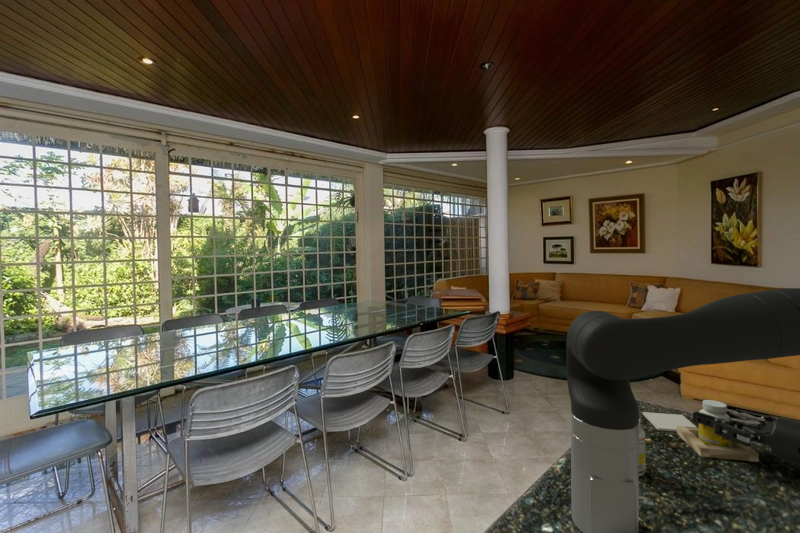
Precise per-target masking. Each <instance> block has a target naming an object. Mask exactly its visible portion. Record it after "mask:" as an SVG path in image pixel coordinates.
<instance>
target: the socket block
mask: <svg viewBox="0 0 800 533" xmlns="http://www.w3.org/2000/svg"><path fill="white" fill-rule="evenodd" d="M676 435H678V436H679V437H680V438H681V439H682V441H684V442H685V443H686V444H687V445H688V446H689V447H690V448H691V449H692V450H693V451H694V452H695V453H696V454H697V455H698V456H699V457H702V458H703V457H704V458H712V459H713V458H714V459H722V460H723V459H725V460H734V461H744V462H746V461H747V462H753V463H754V462H755V463H759V462H760V459H759V456H760V453H759V452H758V451H756V449H754V448H753V447H751V446H750V447H748V446H744V445H742V444H739V443H737V442H734V441H732V440H731V447H724V446H713V445H705V444H704V443H703V442H702V441H701V440H699V426H696V427H685V426H677V432H676Z"/></svg>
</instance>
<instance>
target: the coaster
mask: <svg viewBox="0 0 800 533" xmlns="http://www.w3.org/2000/svg"><path fill="white" fill-rule="evenodd" d="M642 415H643V416H644V417H645V418H646V419H647V421H648V422H649V423H651V425H653V427H655V429H656V430H657V431H664V432H665V431H667V432H675V433H677V426H685V427H697V426H696V425H695V424H694V423H692V422H691V421H690V420H689V419H688V418H687V417H685V416H684V415H683V414H676V413H659V412H645V411H643V412H642Z"/></svg>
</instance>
